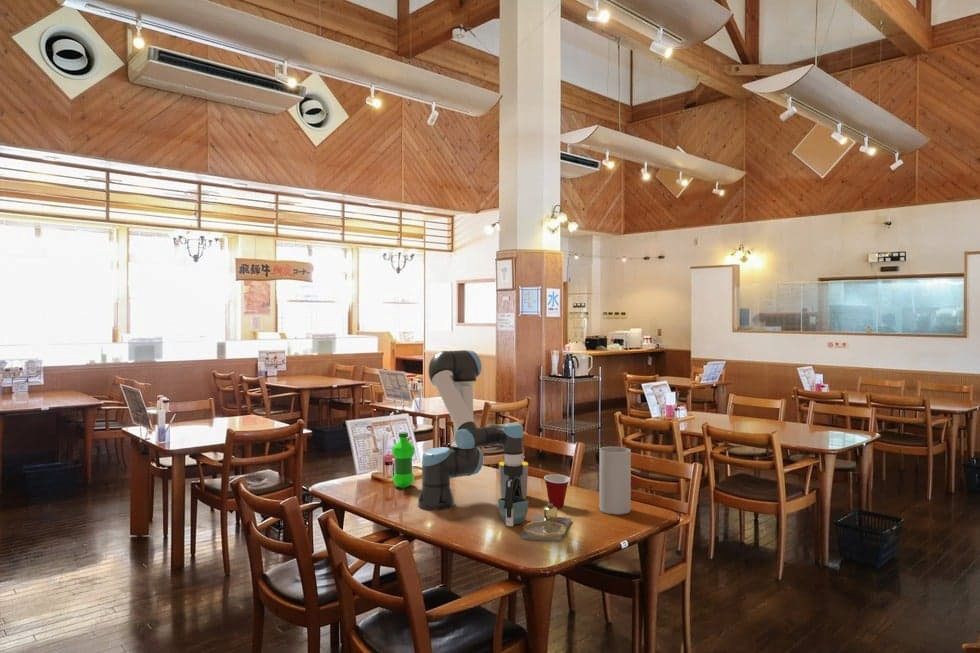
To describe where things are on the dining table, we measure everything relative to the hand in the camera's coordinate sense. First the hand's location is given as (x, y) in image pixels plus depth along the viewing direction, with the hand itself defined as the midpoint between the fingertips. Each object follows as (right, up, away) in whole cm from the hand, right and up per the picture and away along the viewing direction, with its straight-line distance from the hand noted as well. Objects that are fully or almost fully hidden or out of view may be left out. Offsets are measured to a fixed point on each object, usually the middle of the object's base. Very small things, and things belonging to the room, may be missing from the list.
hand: (513, 521), depth 247 cm
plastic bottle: (-50, 0, +55) cm, 74 cm away
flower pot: (0, -1, 0) cm, 1 cm away
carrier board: (+12, -1, -8) cm, 15 cm away
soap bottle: (+1, -1, +37) cm, 37 cm away
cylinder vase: (+42, -1, +16) cm, 45 cm away
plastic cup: (+19, -1, +23) cm, 30 cm away
